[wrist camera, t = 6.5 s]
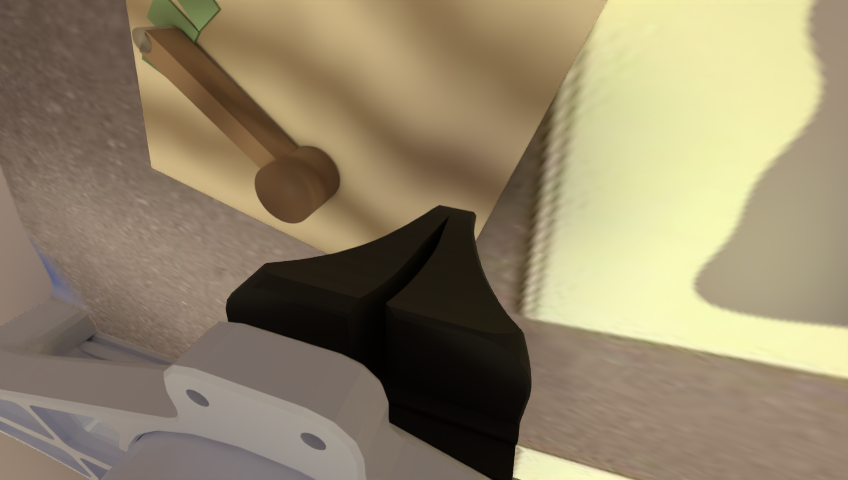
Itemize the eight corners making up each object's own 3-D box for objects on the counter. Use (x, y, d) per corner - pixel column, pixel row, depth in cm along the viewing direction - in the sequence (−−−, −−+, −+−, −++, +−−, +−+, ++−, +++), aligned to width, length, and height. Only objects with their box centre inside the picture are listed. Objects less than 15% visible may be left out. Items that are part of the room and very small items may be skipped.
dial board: (443, 297, 27) (438, 309, 26) (165, 162, 28) (149, 168, 27) (643, -71, 14) (650, -78, 13) (108, -293, 15) (72, -316, 14)
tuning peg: (349, 178, 22) (322, 201, 20) (319, 209, 24) (291, 234, 22) (177, 1, 20) (120, 2, 17) (160, 53, 22) (106, 59, 19)
